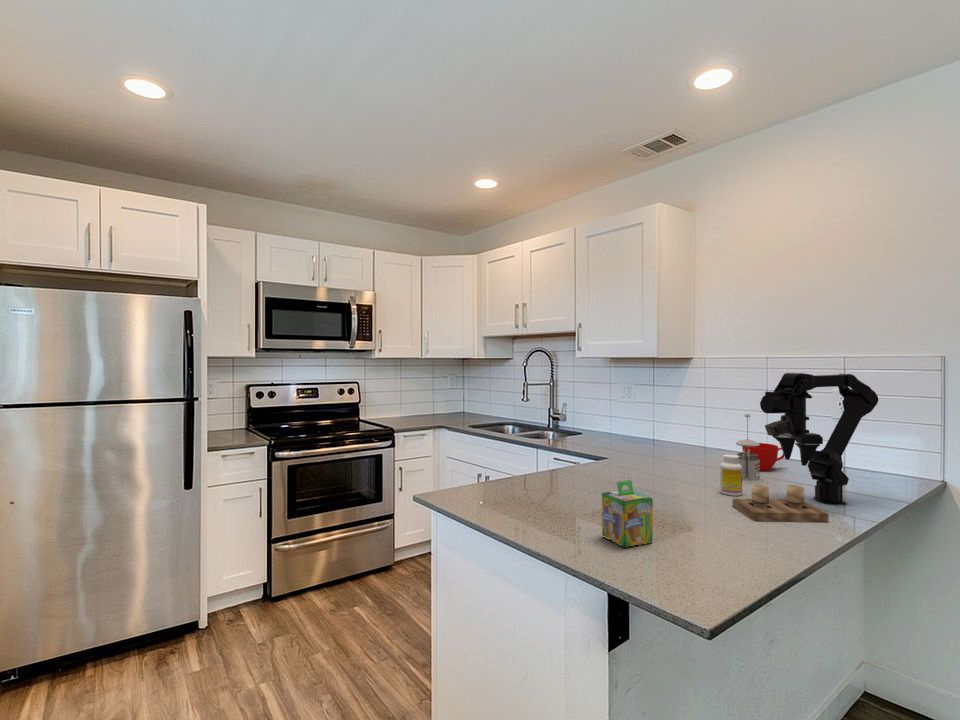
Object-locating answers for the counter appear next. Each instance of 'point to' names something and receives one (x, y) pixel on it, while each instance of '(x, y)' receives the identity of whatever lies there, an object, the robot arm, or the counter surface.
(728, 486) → the supplement bottle
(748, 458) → the french press
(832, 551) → the counter surface
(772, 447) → the ceramic cup
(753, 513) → the brown block with openings
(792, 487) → the oak leg
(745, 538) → the counter surface
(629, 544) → the chalk box
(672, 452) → the counter surface
